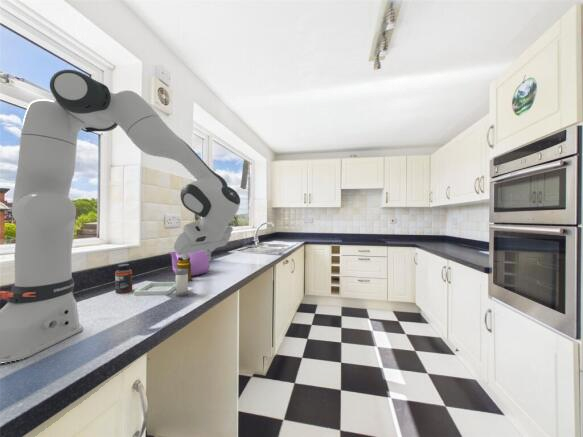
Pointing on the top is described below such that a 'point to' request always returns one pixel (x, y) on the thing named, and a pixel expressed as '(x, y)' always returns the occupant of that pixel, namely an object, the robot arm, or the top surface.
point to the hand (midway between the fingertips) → (196, 255)
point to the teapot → (193, 262)
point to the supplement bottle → (123, 279)
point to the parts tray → (156, 292)
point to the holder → (174, 297)
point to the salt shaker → (181, 282)
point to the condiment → (185, 266)
